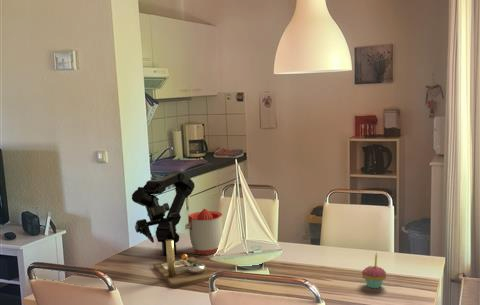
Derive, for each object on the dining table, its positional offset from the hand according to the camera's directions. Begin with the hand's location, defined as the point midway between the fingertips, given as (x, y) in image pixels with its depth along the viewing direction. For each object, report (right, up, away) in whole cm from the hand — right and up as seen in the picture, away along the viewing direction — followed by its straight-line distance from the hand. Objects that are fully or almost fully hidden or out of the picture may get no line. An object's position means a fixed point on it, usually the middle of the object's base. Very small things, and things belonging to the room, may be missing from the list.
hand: (164, 239), depth 199 cm
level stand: (+8, -13, -2) cm, 16 cm away
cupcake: (+80, -13, -24) cm, 84 cm away
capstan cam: (+8, -11, -1) cm, 14 cm away
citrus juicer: (+15, -10, +25) cm, 31 cm away
